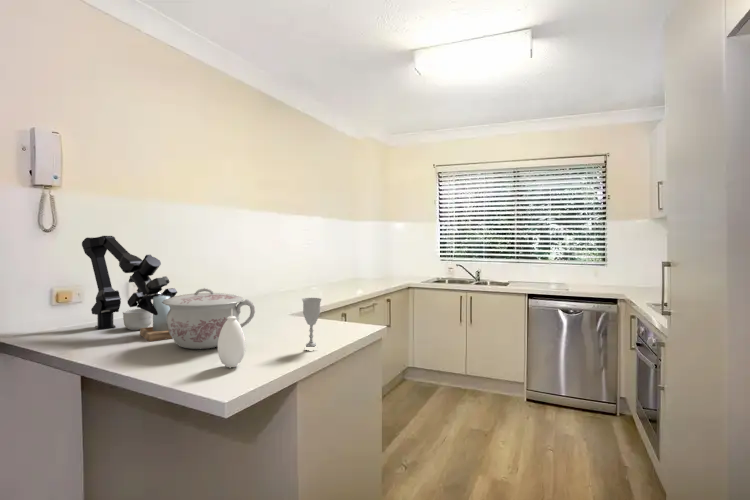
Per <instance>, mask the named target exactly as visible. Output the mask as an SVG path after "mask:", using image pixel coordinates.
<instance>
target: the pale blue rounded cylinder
mask: <svg viewBox="0 0 750 500" xmlns="http://www.w3.org/2000/svg"><path fill="white" fill-rule="evenodd" d="M168 298H170V296H155V297H153V300H152V304H153V305H154V307H155V309H156V311H157V313H158V314H157V315H154V314H152V327H153V331H167V330H168V327H167V323H166V315H167V314H168V312H169V310H170V307H169V306H168V305H165V304H163V303H162V302H163V300H165V299H168Z"/></svg>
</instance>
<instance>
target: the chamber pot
mask: <svg viewBox="0 0 750 500" xmlns="http://www.w3.org/2000/svg"><path fill="white" fill-rule="evenodd" d="M162 303H163V304H165V305H168V306H169V307H170V310H169V312H168V314H167V315H166V323H167V327H168V332H169V334H170V335H171V337H172V338H173V339H172V340H173V341H174V343H175V344H176V345H178V346H179V348H180V347H181V348H185V349H188V350H194V351H195V350H196V351H197V350H198V351H199V350H201V349H202V350H210V348H211V349H215V347H216V348H218V339H219V335H220V332H221V329H222V327H223V325H224V323H225V322H226V321H227V320H228V319H227V318H228V317H230V316H231V309H232V310H233V316H235V317H236V320H237V321H238V322H239V321H240V314H241V307H243V306H248V307H249V308H250V309H249V311H250V313H249V316H248V317H247V318H246V320H245V321H244V322H242V323H240V322H239V324H240V326H241V328H242V329H243V328H244V327H245V326H247V325H248V324H249V323H250V322H251V320H252V319H253V318H254V317H255V315H256V314H255V313H256V309H255V305H254V303H253V302H252V301H251V300H249V299H245V300H244V298H243V297H242V296H239V295H236V294H230V293H225V292H224V293H220V292H214V291H213V290H212V289H209V288H205V287H203V288H199V289H198V290H196V291H195V292H194V293H185V294H182V295H181V294H179V295H175V296H174V297H171V298H168V299H165V300H163V302H162ZM202 350H201V351H202Z"/></svg>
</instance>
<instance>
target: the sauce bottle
mask: <svg viewBox="0 0 750 500" xmlns="http://www.w3.org/2000/svg"><path fill="white" fill-rule="evenodd" d="M227 319H228V320H227V321H226V322H225V323H224V325H223V327H222V329H221V332H220V335H219V339H218V347H217V355H218V358H219V360H220V362H221V364H223V365H225V367H227V368H228V367H234V368H235V367H237V366H239V365H238V364H240V363H241V362H242V361H243V358H244V356H245V352H246V340H245V339H246V338H245V334H244V331H243V327H242V328H241V326H240V324H241V323H240V322H238V321H237V320H236V317H235V316H233V310H232V309H231V316H230V317H228V318H227Z"/></svg>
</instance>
